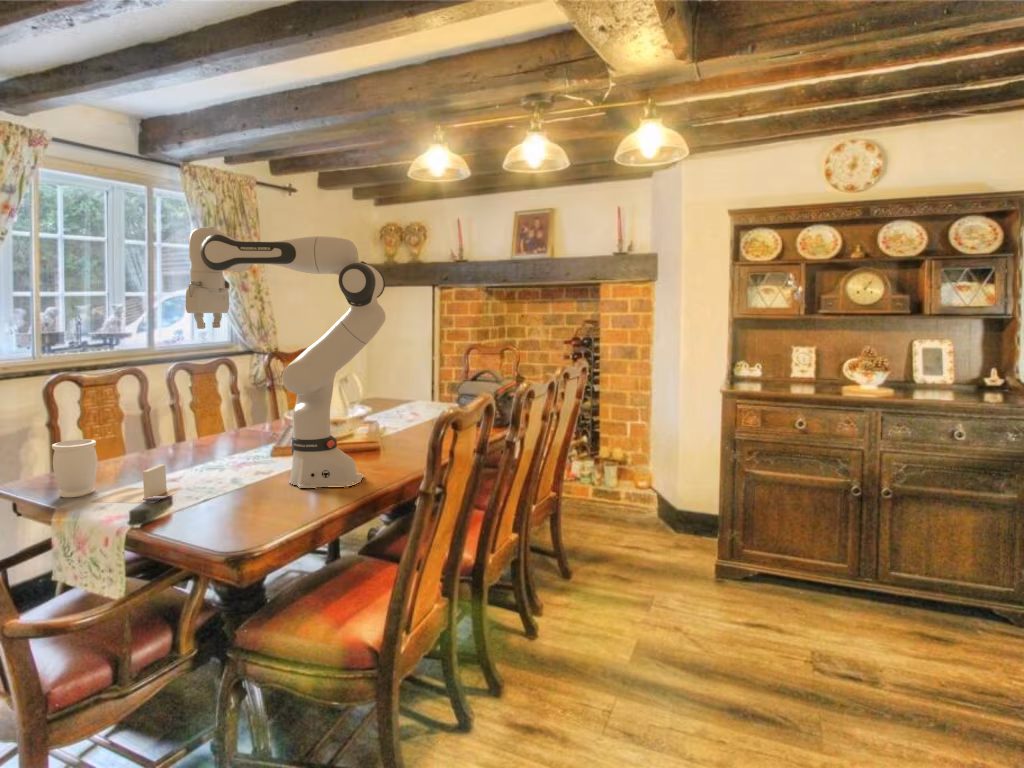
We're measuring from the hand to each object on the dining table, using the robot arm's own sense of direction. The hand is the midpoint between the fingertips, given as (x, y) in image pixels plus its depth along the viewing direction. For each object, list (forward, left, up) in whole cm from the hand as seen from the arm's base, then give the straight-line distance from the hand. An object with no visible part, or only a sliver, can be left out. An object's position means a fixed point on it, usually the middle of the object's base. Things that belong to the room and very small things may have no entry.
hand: (209, 328), depth 190 cm
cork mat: (+12, +20, -47) cm, 53 cm away
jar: (+31, +18, -48) cm, 60 cm away
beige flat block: (+7, +20, -47) cm, 51 cm away
